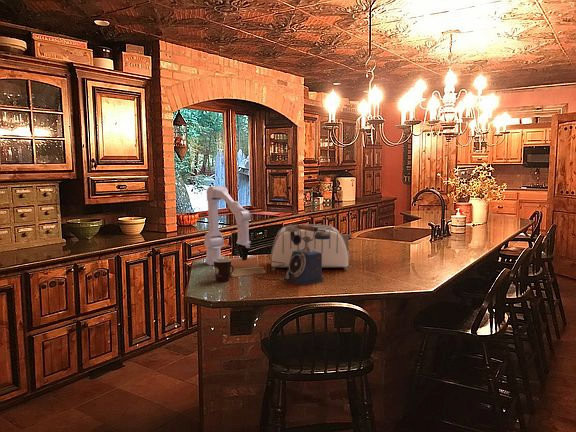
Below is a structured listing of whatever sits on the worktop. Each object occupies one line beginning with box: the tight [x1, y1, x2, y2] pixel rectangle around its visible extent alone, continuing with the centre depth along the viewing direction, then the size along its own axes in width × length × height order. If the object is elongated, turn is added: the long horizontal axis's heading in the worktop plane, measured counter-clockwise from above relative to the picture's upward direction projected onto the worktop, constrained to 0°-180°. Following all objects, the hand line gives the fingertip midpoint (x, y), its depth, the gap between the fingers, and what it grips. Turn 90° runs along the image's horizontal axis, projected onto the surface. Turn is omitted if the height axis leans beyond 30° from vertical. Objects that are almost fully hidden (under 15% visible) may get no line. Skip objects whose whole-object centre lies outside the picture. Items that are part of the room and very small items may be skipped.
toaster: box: [270, 223, 354, 271], centre depth 261 cm, size 21×45×22 cm, turn 91°
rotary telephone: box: [255, 224, 330, 286], centre depth 232 cm, size 41×22×27 cm, turn 38°
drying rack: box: [230, 264, 267, 278], centre depth 250 cm, size 17×18×3 cm
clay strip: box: [230, 255, 258, 268], centre depth 249 cm, size 2×14×5 cm, turn 116°
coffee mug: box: [213, 257, 234, 283], centre depth 229 cm, size 12×9×10 cm
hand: (243, 259), depth 249 cm, fingers closed on clay strip, 2 cm apart
